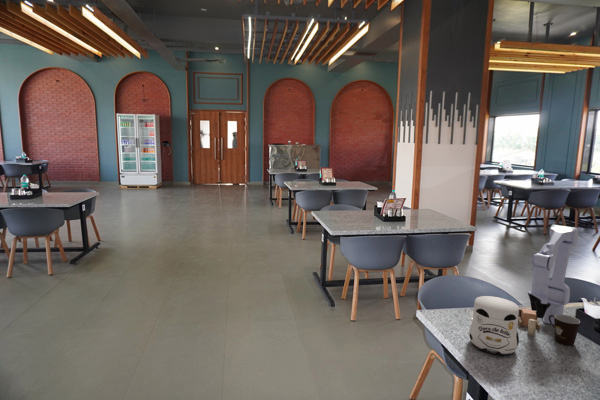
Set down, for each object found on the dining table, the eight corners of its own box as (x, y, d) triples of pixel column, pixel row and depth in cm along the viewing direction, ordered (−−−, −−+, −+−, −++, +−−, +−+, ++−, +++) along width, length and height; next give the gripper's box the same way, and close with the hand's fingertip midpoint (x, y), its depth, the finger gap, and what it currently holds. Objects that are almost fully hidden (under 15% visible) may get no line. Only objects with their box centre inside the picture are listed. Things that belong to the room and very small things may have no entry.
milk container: (486, 360, 142) (490, 313, 139) (459, 337, 159) (463, 295, 156) (528, 357, 144) (533, 311, 142) (497, 335, 161) (501, 294, 159)
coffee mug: (581, 349, 152) (584, 324, 150) (557, 346, 153) (560, 322, 152) (567, 335, 163) (570, 312, 162) (545, 332, 165) (547, 310, 163)
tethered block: (520, 321, 176) (521, 308, 175) (533, 323, 174) (534, 310, 173) (525, 334, 163) (526, 320, 162) (538, 336, 161) (540, 322, 160)
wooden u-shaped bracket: (516, 319, 177) (517, 308, 177) (536, 322, 174) (537, 312, 174) (519, 327, 169) (520, 316, 169) (539, 330, 166) (541, 319, 166)
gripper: (524, 276, 167) (521, 306, 169) (534, 287, 153) (531, 319, 155) (543, 277, 165) (540, 308, 167) (554, 289, 151) (551, 322, 153)
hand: (537, 314), depth 161 cm, fingers open, 7 cm apart
